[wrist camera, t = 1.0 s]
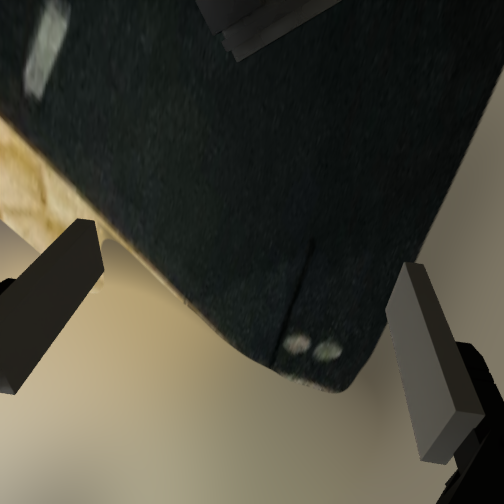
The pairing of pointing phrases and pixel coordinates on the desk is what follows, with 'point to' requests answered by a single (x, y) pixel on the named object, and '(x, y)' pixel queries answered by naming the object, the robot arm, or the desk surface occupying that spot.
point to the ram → (226, 12)
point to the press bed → (270, 24)
